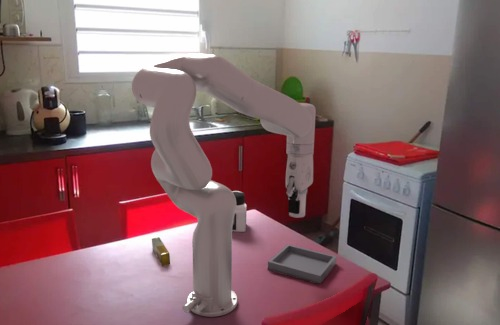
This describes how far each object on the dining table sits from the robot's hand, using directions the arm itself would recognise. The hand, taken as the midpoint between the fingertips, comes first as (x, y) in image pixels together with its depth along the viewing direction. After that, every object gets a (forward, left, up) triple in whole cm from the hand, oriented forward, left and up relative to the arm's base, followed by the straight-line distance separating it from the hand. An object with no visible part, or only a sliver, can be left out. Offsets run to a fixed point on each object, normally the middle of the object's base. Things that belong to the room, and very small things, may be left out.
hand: (297, 209), depth 129 cm
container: (+15, +30, -18) cm, 37 cm away
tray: (0, -2, -18) cm, 18 cm away
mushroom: (0, 0, -2) cm, 2 cm away
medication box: (-17, +37, -18) cm, 45 cm away
